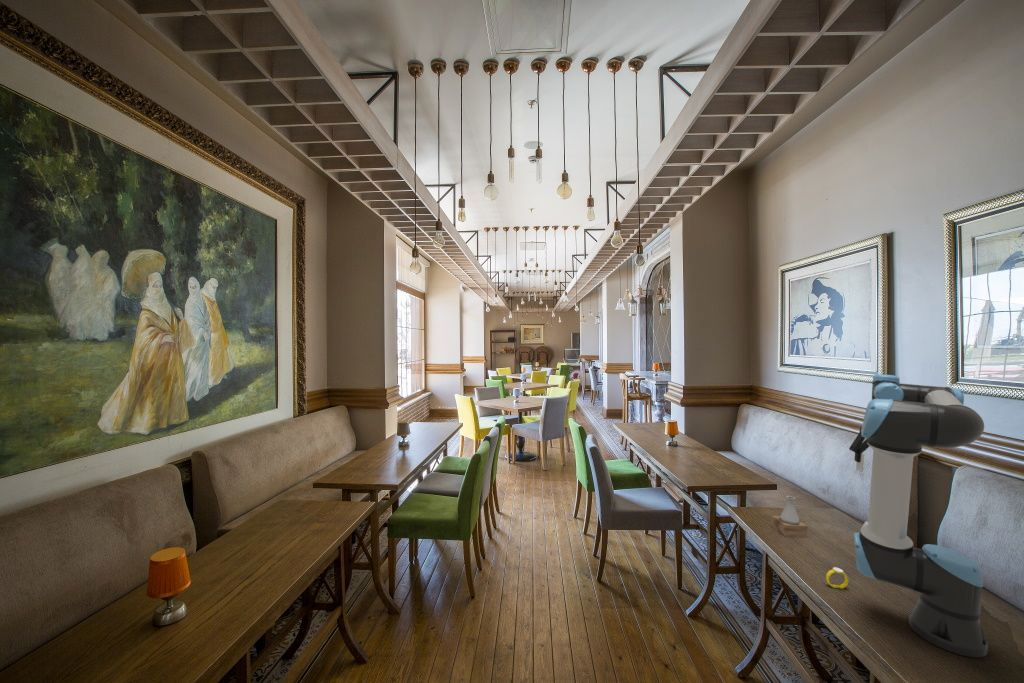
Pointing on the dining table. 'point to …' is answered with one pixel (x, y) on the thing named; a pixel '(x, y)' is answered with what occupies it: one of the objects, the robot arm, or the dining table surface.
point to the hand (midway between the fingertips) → (879, 472)
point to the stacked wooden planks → (789, 528)
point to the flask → (790, 512)
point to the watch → (838, 573)
